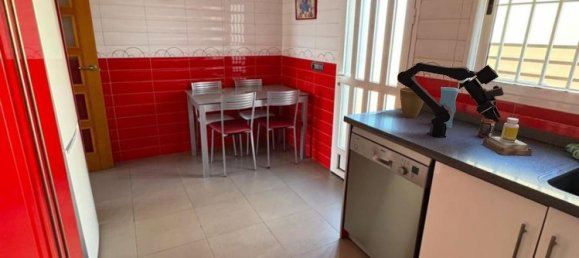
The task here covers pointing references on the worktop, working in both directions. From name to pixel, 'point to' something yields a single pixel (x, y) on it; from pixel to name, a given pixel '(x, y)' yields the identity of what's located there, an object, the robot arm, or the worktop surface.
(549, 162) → the worktop surface
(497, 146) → the brick base
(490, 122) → the supplement bottle
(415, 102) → the plant pot
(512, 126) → the supplement bottle
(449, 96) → the vase
